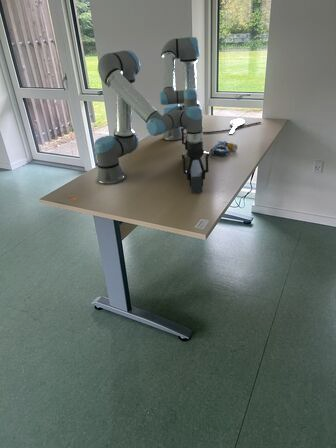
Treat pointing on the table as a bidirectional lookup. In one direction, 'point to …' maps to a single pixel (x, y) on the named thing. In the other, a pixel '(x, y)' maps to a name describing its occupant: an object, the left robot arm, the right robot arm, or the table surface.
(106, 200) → the table surface
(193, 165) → the bar
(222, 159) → the table surface
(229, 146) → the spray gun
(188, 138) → the left robot arm
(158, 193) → the table surface
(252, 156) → the table surface
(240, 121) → the spoon
